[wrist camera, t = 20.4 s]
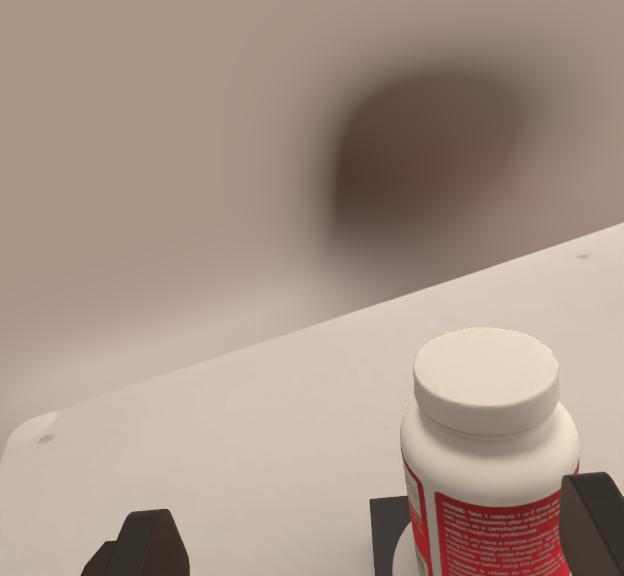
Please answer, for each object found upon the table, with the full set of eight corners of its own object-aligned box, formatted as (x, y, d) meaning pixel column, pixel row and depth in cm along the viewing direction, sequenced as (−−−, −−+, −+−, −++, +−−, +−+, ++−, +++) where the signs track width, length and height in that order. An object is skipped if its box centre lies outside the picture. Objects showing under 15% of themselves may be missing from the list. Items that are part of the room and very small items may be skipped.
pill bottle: (603, 582, 21) (627, 357, 16) (503, 688, 18) (498, 455, 14) (481, 492, 26) (472, 299, 21) (388, 565, 23) (355, 363, 19)
